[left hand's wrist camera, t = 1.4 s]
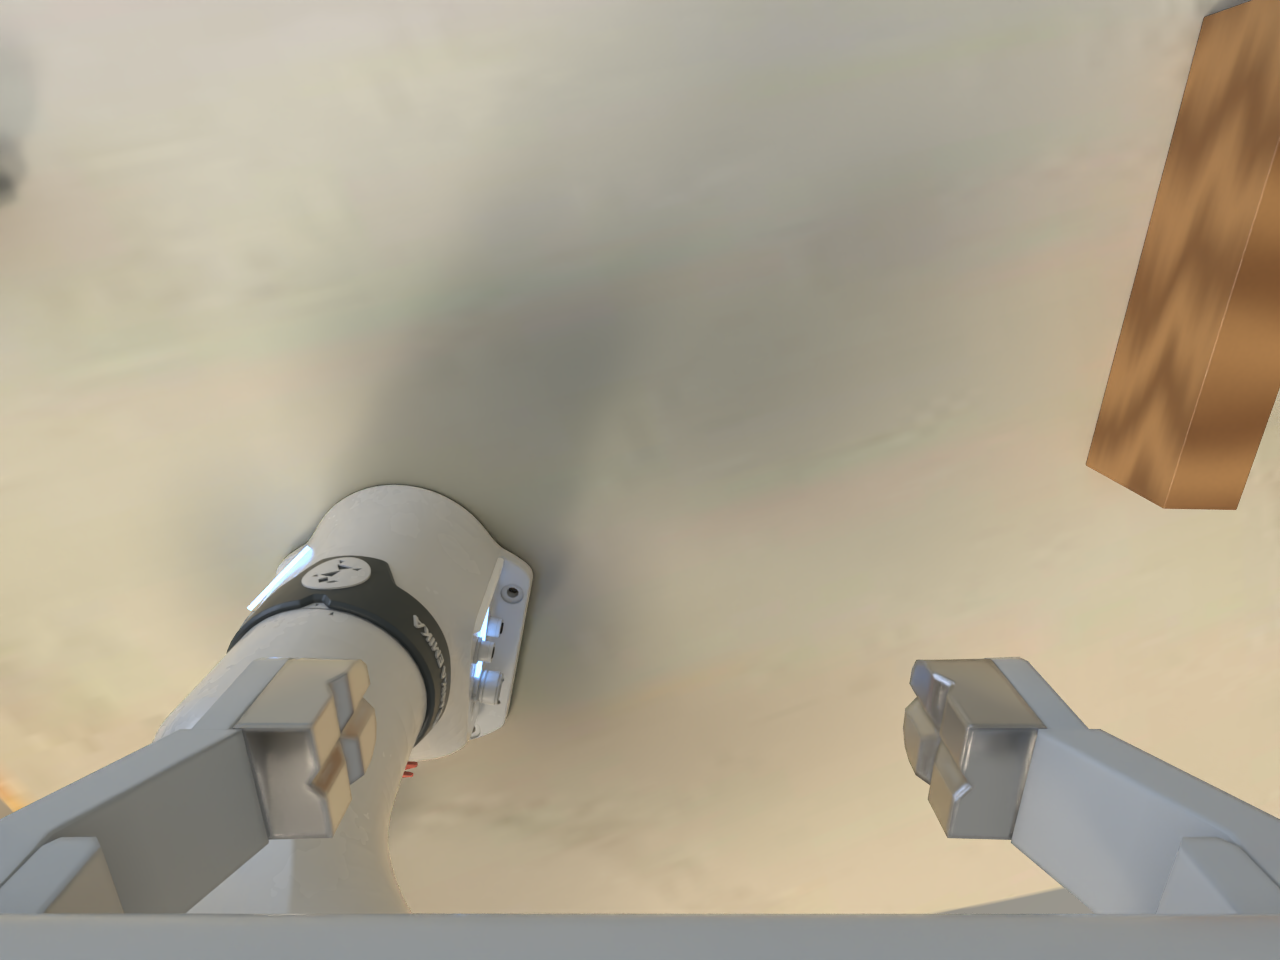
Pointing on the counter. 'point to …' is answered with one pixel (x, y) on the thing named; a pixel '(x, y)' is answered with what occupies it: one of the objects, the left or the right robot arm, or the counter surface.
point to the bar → (1205, 284)
